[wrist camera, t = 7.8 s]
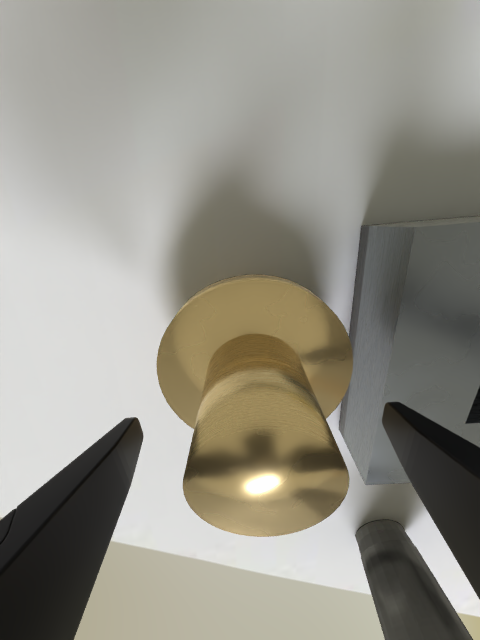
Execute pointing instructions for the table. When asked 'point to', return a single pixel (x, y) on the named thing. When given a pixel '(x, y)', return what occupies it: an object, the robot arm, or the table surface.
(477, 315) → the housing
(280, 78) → the table surface
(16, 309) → the table surface
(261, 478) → the end cover
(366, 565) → the beverage cup
